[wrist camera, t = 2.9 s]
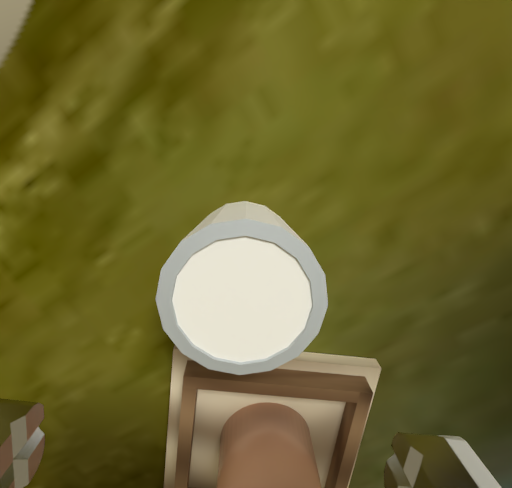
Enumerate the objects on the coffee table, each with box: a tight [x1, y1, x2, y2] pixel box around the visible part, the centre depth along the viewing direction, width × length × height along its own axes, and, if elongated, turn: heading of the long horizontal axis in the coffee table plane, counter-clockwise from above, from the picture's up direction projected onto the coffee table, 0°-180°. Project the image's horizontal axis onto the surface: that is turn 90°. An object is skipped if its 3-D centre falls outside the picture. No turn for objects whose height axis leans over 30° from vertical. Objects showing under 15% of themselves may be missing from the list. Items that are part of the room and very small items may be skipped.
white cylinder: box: [156, 201, 328, 375], centre depth 17 cm, size 7×7×7 cm
